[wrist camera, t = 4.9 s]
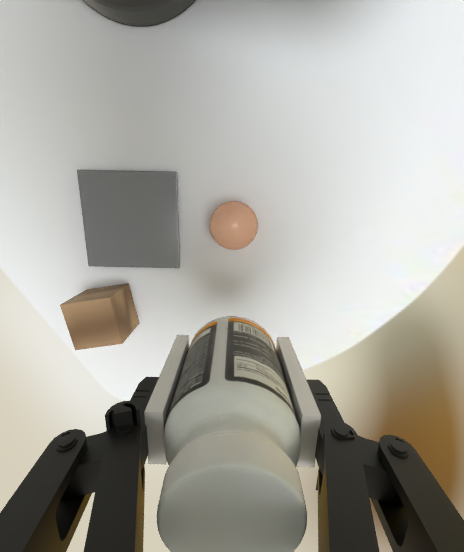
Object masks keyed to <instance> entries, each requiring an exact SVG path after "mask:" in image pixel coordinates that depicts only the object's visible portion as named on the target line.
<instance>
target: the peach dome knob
mask: <svg viewBox="0 0 464 552" xmlns="http://www.w3.org/2000/svg"><path fill="white" fill-rule="evenodd" d="M257 228H258V223H257V218H256V215H255V213H254V212H253V210H252V209H251V208H250V207H249V206H247V205H246V204H244V203H241V202H238V201H230V202H226V203H224V204H222V205H220V206H219V207H218V208H217V209H216V210H215V211H214V213H213V215H212V217H211V220H210V231H211V234H212V236H213V238H214V240H215V241H216V242H217V243H218V244H219V245H220V246H222V247H224V248H227V249H231V250H237V249H241V248H244V247H246V246H247V245H248V244H250V243H251V242H252V240H253V239H254V237H255V235H256V233H257Z"/></svg>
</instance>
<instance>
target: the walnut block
mask: <svg viewBox="0 0 464 552" xmlns="http://www.w3.org/2000/svg"><path fill="white" fill-rule="evenodd" d="M60 306H61V309H62V312H63V315H64V318H65V321H66V324H67V327H68V330H69V333H70V336H71V339H72V342H73V345H74V347H75V350H80V349H87V348H94V347H101V346H108V345H115V344H122V343H123V342H124V341H125V340H126V339H127V337H128V336H129V335H130V334H131V332H132V331H133V330H134V329H135V328H136V326H137V325H138V324H139V320H138V317H137V313H136V309H135V305H134V302H133V298H132V294H131V290H130V286H129V284H122V285H115V286H109V287H102V288H96V289H89V290H86V291H84V292H82V293H80V294H79V295H77V296H75V297H73V298H72V299H70V300H68V301H66V302H64V303H63V304H61V305H60Z"/></svg>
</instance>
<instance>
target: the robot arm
mask: <svg viewBox="0 0 464 552" xmlns="http://www.w3.org/2000/svg"><path fill="white" fill-rule="evenodd" d="M83 1H84V2H85V3H87V4H88V5H89V6H90V7H91V8H93V9H94V10H95V11H97V12H98V13H100V14H102V15H103V16H105V17H107V18H109V19H112V20H114V21H117V22H120V23H123V24H128V25H136V26H146V25H153V24H158V23H161V22H164V21H167V20H169V19H171V18H173V17H175V16H177V15H178V14H180V13H181V12H182V11H184V10H185V9H186V8H187V7H188V6H190V5H191V4H192V3H193V2H194V0H83ZM188 350H189V335H177V337H176V339H175V341H174V344H173V346H172V348H171V351H170V353H169V355H168V358H167V360H166V362H165V365H164V367H163V370H162V372H161V374H160V377H146V378H145V379H143V380H142V381H141V382H140V383H139V385H138V386H137V388H136V390H135V392H134V394H133V396H132V398H131V400H130V401H123V402H120V403H117V404H115V405H114V406H112V407H111V408H110V409H109V410H108V411H107V412H106V415H105V420H106V428H107V431H106V432H104V433H100V434H97V435H93V436H88V437H86V435H85V432H83V431H82V430H77V429H74V430H68V431H66V432H63V433H61V434H60V435H58V436H57V437H55V438H54V439H53V440H52V441H51V443H50V444H49V445H48V446H47V448H46V449H45V451H44V452H43V454H42V455H41V456H40V458H39V459H38V460H37V462H36V463H35V465H34V466H33V468H32V469H31V471H30V472H29V473H28V475H27V476H26V478H25V479H24V480H23V482H22V483H21V485H20V486H19V487H18V489H17V490H16V492H15V493H14V495H13V496H12V497H11V499H10V500H9V501H8V503H7V504H6V506H5V507H4V508H3V510H2V511H1V513H0V552H66V551H67V548H68V546H69V544H70V542H71V539H72V537H73V535H74V532H75V530H76V528H77V526H78V523H79V521H80V519H81V516H82V514H83V512H84V510H85V508H86V505H87V503H88V501H89V498H90V496H91V494H92V493H93V492H95V497H94V502H93V508H92V513H91V517H90V523H89V528H88V533H87V538H86V543H85V548H84V552H143V529H144V527H143V526H144V489H145V469H144V464H145V461H146V458H147V456H148V463H149V464H166V462H167V459H166V455H165V450H164V430H165V423H166V420H167V417H168V414H169V411H170V407H171V404H172V401H173V398H174V395H175V391H176V388H177V385H178V382H179V379H180V375H181V372H182V368H183V366H184V362H185V359H186V356H187V353H188ZM276 352H277V355H278V359H279V362H280V365H281V369H282V373H283V376H284V379H285V383H286V386H287V389H288V393H289V396H290V399H291V403H292V406H293V409H294V412H295V415H296V419H297V422H298V424H299V428H300V436H301V449H300V456H299V459H298V463H297V467H314V465H315V458H316V460H317V463H318V466H319V471H318V478H317V485H316V490H318V542H319V543H318V546H319V549H318V550H319V552H379V547H378V542H377V537H376V531H375V526H374V521H373V515H372V510H371V504H370V499H369V497H370V498H371V500H372V502H373V505H374V507H375V510H376V512H377V514H378V517H379V519H380V521H381V524H382V526H383V529H384V531H385V533H386V536H387V538H388V540H389V543H390V545H391V547H392V550H393V552H464V520H463V519H462V517H461V516H460V514H459V513H458V511H457V510H456V509H455V507H454V505H453V504H452V503H451V501H450V500H449V498H448V497H447V495H446V494H445V492H444V491H443V489H442V488H441V487H440V485H439V484H438V482H437V481H436V479H435V478H434V476H433V475H432V474H431V472H430V470H429V469H428V468H427V466H426V465H425V463H424V462H423V460H422V459H421V457H420V456H419V454H418V453H417V451H416V450H415V449H414V448H413V447H412V446H411V445H410V444H409V443H408V442H406V441H405V440H404V439H401V438H399V437H397V436H393V435H384V436H382V437H381V438H380V441H379V442H376V441H372V440H369V439H365V438H363V437H360V436H358V435H357V434H356V432H355V431H354V429H353V428H352V427H351V426H349V425H347V424H346V423H344V421H343V419H342V417H341V415H340V413H339V411H338V409H337V407H336V405H335V403H334V402H333V399H332V397H331V395H330V393H329V391H328V389H327V388H326V386H325V385H324V384H323V383H322V382H321V381H319V380H306V378H305V376H304V373H303V371H302V368H301V366H300V363H299V361H298V359H297V356H296V354H295V351H294V349H293V347H292V344H291V342H290V339H289V337H277V345H276Z"/></svg>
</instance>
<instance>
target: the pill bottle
mask: <svg viewBox="0 0 464 552" xmlns="http://www.w3.org/2000/svg"><path fill="white" fill-rule="evenodd" d="M300 449H301V436H300V428H299V424H298V422H297V419H296V415H295V412H294V409H293V406H292V403H291V399H290V396H289V393H288V389H287V386H286V383H285V379H284V376H283V373H282V369H281V365H280V362H279V359H278V355H277V352H276V349H275V346H274V343H273V341H272V339H271V337H270V336H269V334H268V333H267V332H266V330H265V329H264V328H262V327H261V326H260V325H259V324H257V323H255V322H254V321H251V320H249V319H246V318H242V317H236V316H227V317H221V318H218V319H215V320H213V321H211V322H209V323H207V324H206V325H205V326H203V327H202V328H201V329H200V330H199V331H198V332H197V333H196V335H195V336H194V338H193V340H192V342H191V345H190V347H189V350H188V353H187V356H186V359H185V362H184V366H183V368H182V372H181V375H180V379H179V382H178V385H177V388H176V391H175V395H174V398H173V401H172V404H171V407H170V411H169V414H168V417H167V420H166V423H165V430H164V450H165V455H166V459H167V462H168V465H169V467H168V469H167V471H166V474H165V477H164V481H163V486H162V490H161V495H160V500H159V504H158V510H157V525H158V531H159V534H160V537H161V539H162V541H163V542H164V543H165V545H166V547H167V548H168V549H169V550H170V551H171V552H294V550H295V549H296V548H297V547H298V545H299V544H300V542H301V540H302V538H303V536H304V534H305V530H306V525H307V511H306V505H305V500H304V496H303V491H302V486H301V482H300V478H299V473H298V471H297V469H296V466H297V463H298V459H299V456H300Z"/></svg>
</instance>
